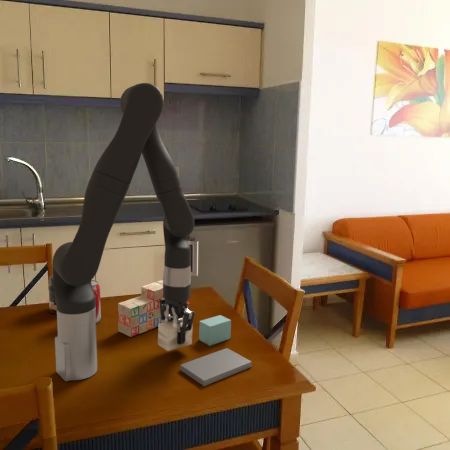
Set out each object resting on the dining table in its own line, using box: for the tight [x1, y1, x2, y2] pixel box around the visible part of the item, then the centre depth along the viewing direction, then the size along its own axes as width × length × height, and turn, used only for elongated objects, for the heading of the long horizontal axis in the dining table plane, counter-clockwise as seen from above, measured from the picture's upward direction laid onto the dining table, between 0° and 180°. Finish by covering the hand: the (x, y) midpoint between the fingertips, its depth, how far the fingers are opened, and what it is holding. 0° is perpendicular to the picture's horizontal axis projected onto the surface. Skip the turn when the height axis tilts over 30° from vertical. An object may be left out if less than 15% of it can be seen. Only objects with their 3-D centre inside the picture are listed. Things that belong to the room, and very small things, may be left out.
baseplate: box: [179, 347, 252, 387], centre depth 125 cm, size 16×10×2 cm, turn 131°
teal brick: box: [198, 314, 232, 346], centre depth 142 cm, size 8×5×6 cm, turn 131°
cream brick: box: [157, 317, 194, 352], centre depth 132 cm, size 8×5×6 cm, turn 130°
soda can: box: [91, 279, 102, 324], centre depth 151 cm, size 7×7×13 cm
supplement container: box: [47, 274, 57, 315], centre depth 160 cm, size 10×10×12 cm
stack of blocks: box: [117, 279, 166, 338], centre depth 150 cm, size 21×6×12 cm, turn 140°
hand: (175, 339), depth 132 cm, fingers closed on cream brick, 5 cm apart
